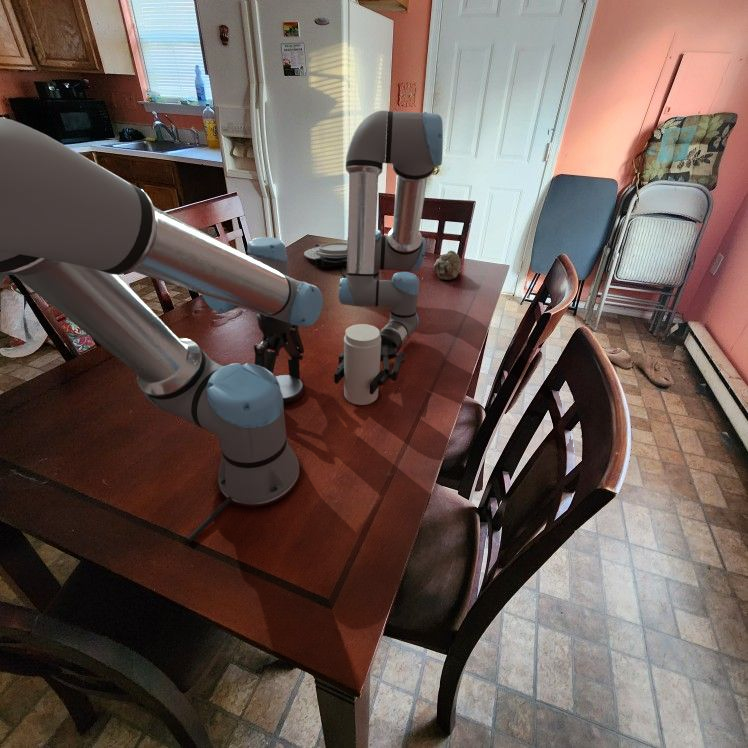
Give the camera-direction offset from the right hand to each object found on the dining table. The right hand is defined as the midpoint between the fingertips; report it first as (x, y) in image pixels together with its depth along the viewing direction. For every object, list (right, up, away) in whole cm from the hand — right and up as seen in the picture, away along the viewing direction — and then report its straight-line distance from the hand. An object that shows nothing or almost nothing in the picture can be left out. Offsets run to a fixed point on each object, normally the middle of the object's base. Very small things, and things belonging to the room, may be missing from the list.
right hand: (353, 384), depth 97 cm
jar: (+2, -3, +7) cm, 8 cm away
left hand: (-18, -2, +6) cm, 19 cm away
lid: (-18, -1, +6) cm, 19 cm away
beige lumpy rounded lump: (+35, +43, +75) cm, 93 cm away
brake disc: (-11, +54, +88) cm, 104 cm away
